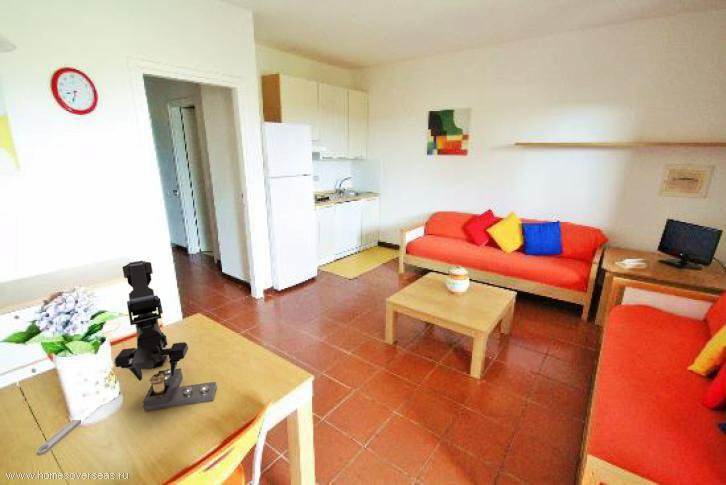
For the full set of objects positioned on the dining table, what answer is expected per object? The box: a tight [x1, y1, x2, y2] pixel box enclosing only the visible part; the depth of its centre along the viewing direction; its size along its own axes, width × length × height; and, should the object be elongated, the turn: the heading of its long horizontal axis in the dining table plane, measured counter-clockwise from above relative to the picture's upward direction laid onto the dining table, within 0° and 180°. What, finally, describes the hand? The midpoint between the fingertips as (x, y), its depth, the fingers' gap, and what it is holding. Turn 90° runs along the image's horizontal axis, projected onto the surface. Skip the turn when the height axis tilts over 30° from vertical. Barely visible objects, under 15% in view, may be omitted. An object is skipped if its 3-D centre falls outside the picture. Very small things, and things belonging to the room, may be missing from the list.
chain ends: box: [142, 368, 218, 412], centre depth 114 cm, size 15×20×5 cm
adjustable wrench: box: [36, 419, 81, 456], centre depth 103 cm, size 25×6×2 cm, turn 169°
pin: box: [149, 373, 166, 396], centre depth 109 cm, size 4×4×9 cm
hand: (157, 377), depth 108 cm, fingers open, 9 cm apart
